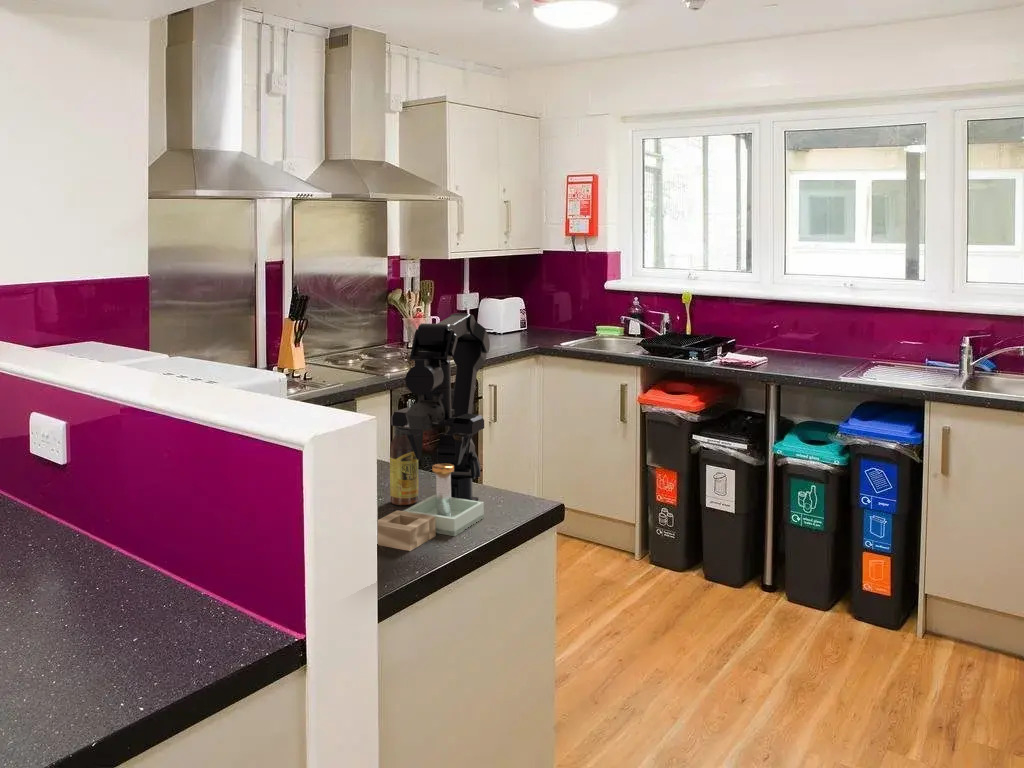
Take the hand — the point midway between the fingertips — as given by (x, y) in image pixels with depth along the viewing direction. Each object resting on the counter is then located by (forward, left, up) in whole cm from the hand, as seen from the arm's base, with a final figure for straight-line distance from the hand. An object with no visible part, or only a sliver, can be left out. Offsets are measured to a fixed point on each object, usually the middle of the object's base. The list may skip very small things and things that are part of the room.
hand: (438, 461), depth 180 cm
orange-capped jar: (-1, +1, -12) cm, 12 cm away
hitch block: (+11, -1, -13) cm, 17 cm away
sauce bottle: (-9, -14, -13) cm, 21 cm away
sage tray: (-1, +1, -13) cm, 13 cm away
